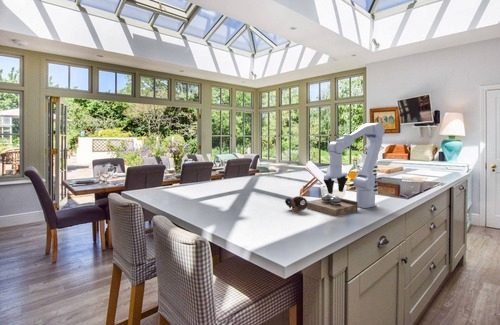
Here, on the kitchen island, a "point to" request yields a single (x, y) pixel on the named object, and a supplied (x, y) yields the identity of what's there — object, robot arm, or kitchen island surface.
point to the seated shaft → (326, 198)
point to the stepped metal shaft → (335, 200)
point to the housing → (333, 206)
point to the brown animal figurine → (296, 203)
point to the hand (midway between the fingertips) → (335, 192)
